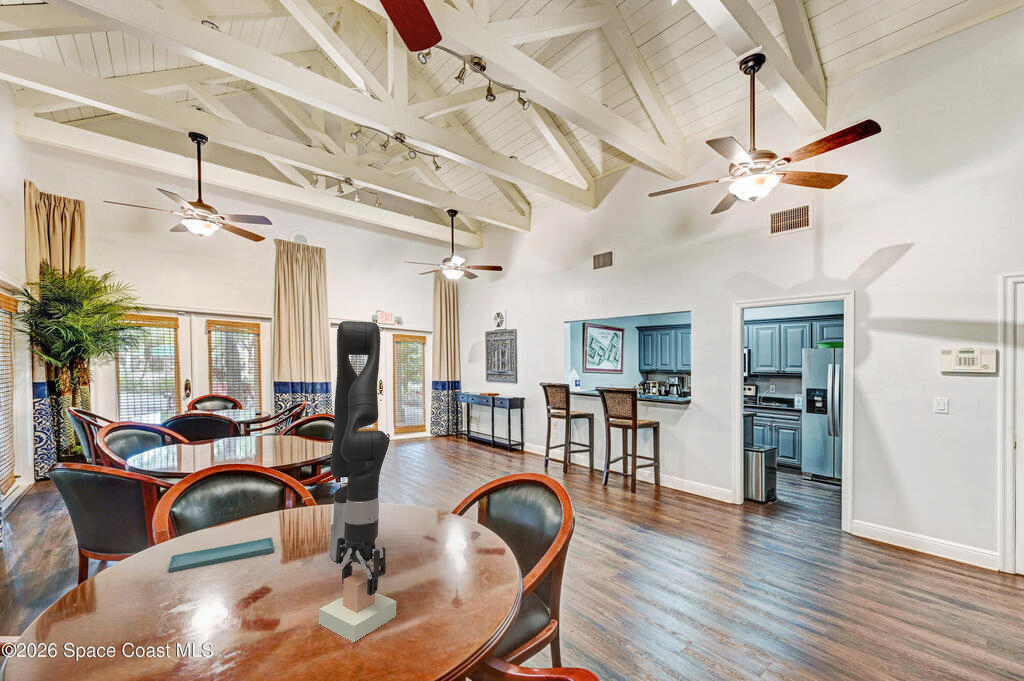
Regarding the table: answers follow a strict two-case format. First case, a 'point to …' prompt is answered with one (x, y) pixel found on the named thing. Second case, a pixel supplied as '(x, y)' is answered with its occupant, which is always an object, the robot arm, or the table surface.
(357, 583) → the terracotta block
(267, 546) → the teal serving tray
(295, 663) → the table surface
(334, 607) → the sage base block
